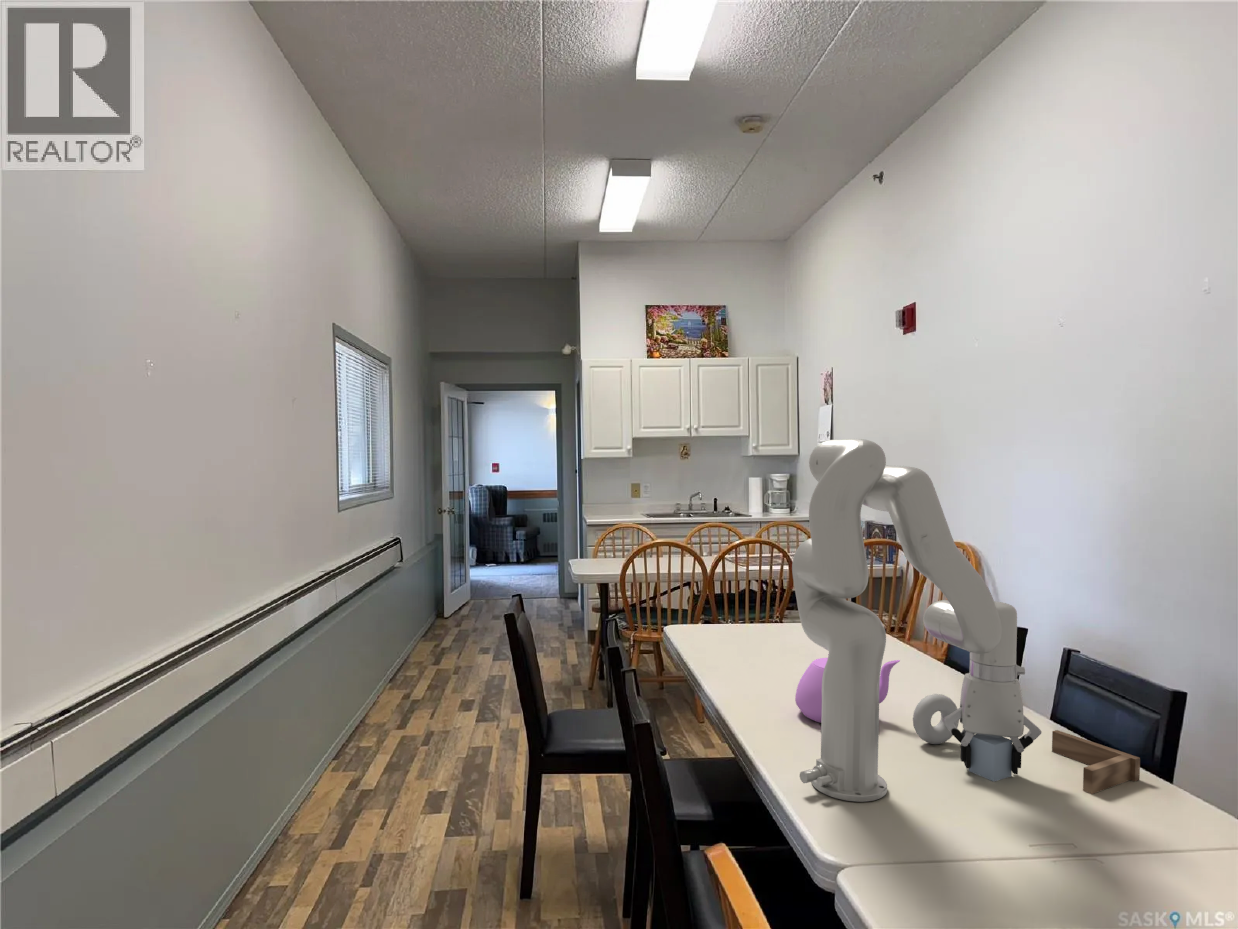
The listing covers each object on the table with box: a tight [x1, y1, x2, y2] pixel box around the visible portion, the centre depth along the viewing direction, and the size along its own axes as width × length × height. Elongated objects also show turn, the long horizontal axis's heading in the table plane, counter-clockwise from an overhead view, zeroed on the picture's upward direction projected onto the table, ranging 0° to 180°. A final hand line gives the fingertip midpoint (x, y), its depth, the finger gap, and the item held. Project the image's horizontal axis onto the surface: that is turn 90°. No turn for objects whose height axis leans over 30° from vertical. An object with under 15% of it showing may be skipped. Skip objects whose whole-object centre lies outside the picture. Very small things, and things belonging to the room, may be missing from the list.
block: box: [968, 734, 1013, 782], centre depth 138 cm, size 5×5×6 cm
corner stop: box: [1051, 729, 1141, 795], centre depth 139 cm, size 14×15×4 cm
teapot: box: [794, 653, 901, 723], centre depth 165 cm, size 22×22×14 cm
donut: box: [912, 693, 960, 745], centre depth 151 cm, size 10×4×10 cm, turn 105°
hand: (990, 767), depth 138 cm, fingers closed on block, 7 cm apart
